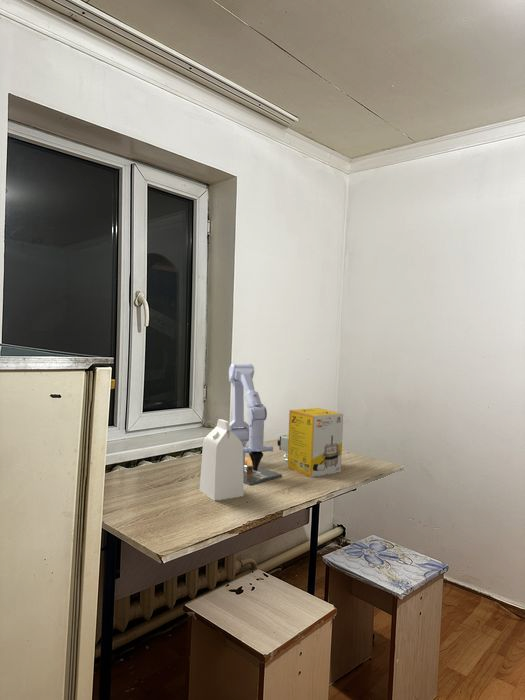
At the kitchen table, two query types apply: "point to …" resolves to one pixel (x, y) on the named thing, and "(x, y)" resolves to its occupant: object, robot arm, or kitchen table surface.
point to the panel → (251, 479)
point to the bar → (249, 465)
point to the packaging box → (315, 441)
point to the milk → (222, 463)
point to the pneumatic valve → (283, 445)
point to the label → (260, 476)
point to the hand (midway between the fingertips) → (255, 470)
